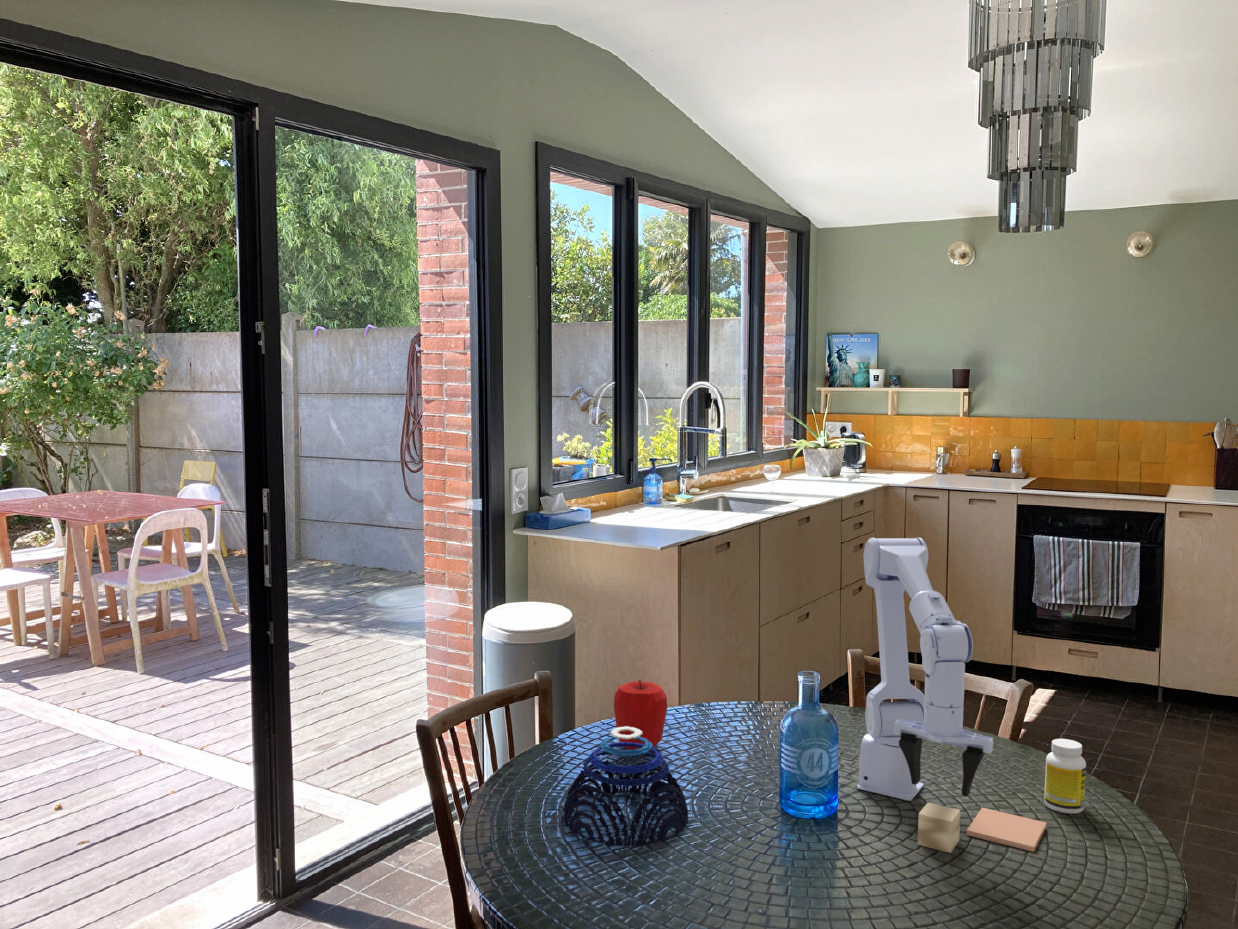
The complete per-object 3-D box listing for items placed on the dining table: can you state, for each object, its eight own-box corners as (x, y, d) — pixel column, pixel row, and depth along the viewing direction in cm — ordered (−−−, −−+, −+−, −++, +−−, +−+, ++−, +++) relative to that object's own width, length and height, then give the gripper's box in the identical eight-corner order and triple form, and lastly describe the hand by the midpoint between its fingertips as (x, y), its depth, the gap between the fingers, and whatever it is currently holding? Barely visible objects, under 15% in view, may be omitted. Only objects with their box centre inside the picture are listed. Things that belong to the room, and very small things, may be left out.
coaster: (966, 835, 156) (966, 830, 156) (981, 812, 165) (982, 807, 165) (1033, 852, 151) (1034, 847, 151) (1046, 827, 159) (1046, 822, 159)
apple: (667, 759, 186) (668, 688, 185) (613, 758, 187) (613, 687, 185) (665, 738, 197) (666, 672, 196) (614, 738, 197) (614, 671, 196)
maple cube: (917, 845, 153) (918, 813, 153) (926, 832, 157) (927, 802, 157) (950, 853, 150) (951, 822, 150) (959, 841, 155) (960, 810, 154)
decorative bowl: (712, 817, 162) (714, 731, 161) (630, 859, 148) (631, 766, 147) (622, 782, 176) (623, 703, 175) (539, 818, 161) (539, 732, 160)
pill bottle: (1088, 816, 163) (1091, 751, 162) (1048, 813, 165) (1051, 748, 164) (1078, 801, 169) (1082, 738, 168) (1040, 797, 171) (1043, 735, 170)
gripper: (888, 700, 152) (886, 786, 154) (986, 718, 145) (983, 808, 146) (903, 688, 158) (900, 771, 159) (997, 705, 150) (994, 792, 152)
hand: (940, 788), depth 153 cm, fingers open, 7 cm apart
